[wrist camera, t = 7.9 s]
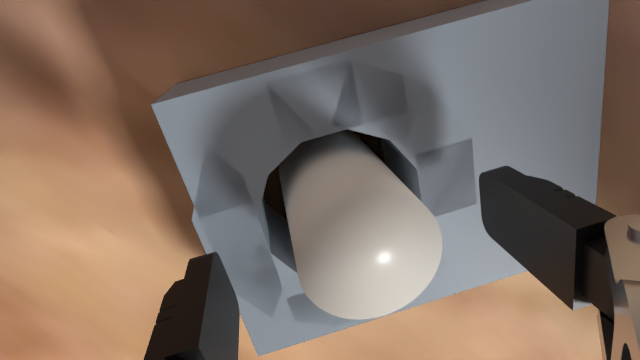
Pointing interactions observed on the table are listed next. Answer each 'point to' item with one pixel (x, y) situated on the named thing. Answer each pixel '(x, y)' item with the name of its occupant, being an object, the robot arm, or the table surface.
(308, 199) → the white rounded capsule
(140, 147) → the table surface
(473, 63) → the jig
